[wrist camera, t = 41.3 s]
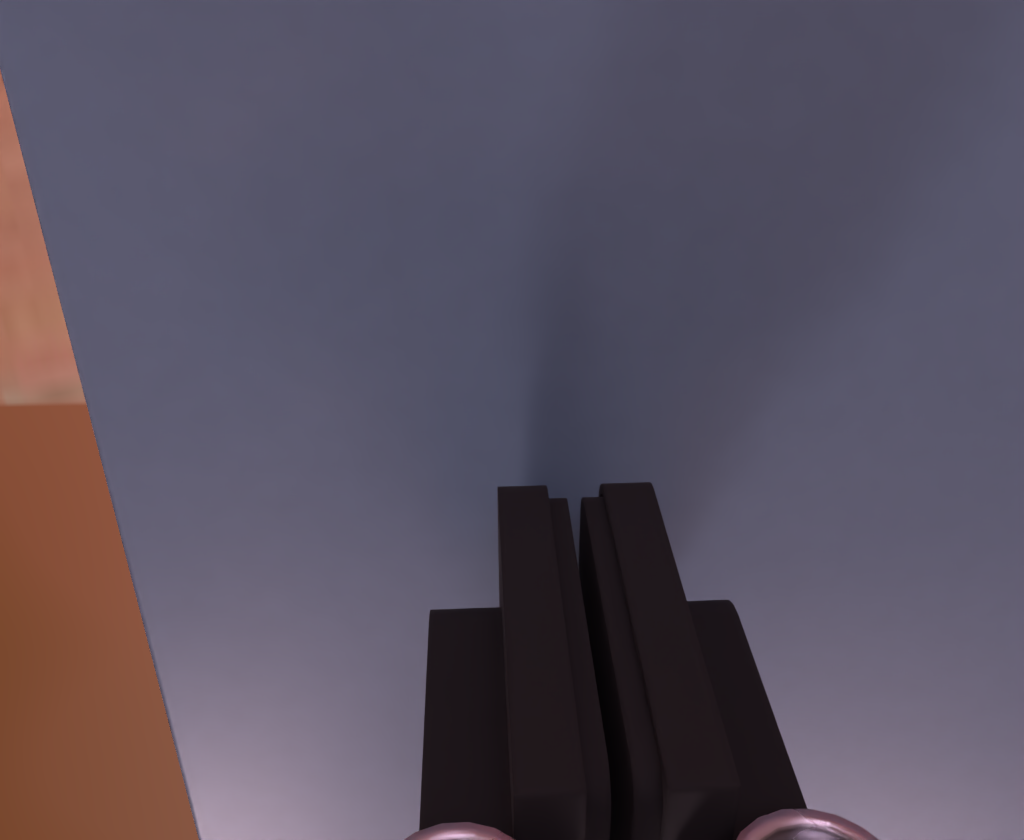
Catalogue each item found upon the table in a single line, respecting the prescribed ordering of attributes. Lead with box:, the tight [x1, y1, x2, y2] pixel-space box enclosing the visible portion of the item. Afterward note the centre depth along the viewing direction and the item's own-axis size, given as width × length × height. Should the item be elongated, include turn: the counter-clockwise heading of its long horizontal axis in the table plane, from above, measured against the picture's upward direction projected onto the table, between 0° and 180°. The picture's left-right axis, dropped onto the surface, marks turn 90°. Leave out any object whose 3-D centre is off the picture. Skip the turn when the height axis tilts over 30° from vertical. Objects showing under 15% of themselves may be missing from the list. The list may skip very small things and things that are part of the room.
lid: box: [0, 0, 1024, 840], centre depth 12 cm, size 15×14×1 cm
